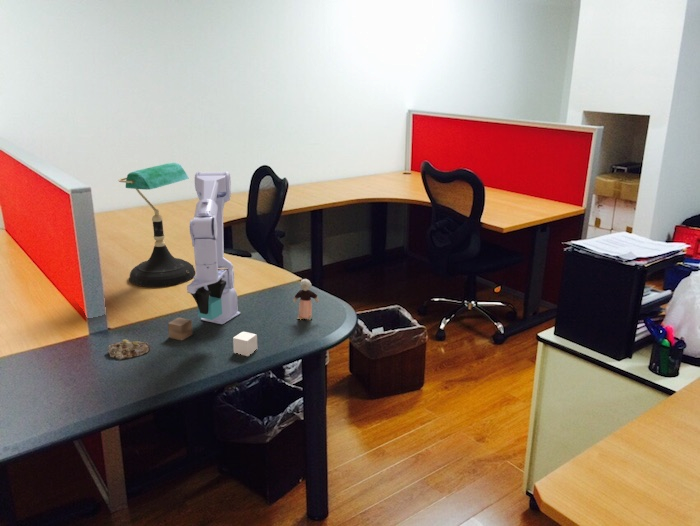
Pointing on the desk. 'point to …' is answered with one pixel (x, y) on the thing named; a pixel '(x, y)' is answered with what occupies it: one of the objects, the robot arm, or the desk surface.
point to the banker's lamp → (158, 231)
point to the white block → (245, 343)
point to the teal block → (212, 309)
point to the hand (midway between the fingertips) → (209, 309)
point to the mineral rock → (128, 349)
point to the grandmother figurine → (305, 300)
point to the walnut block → (180, 328)
